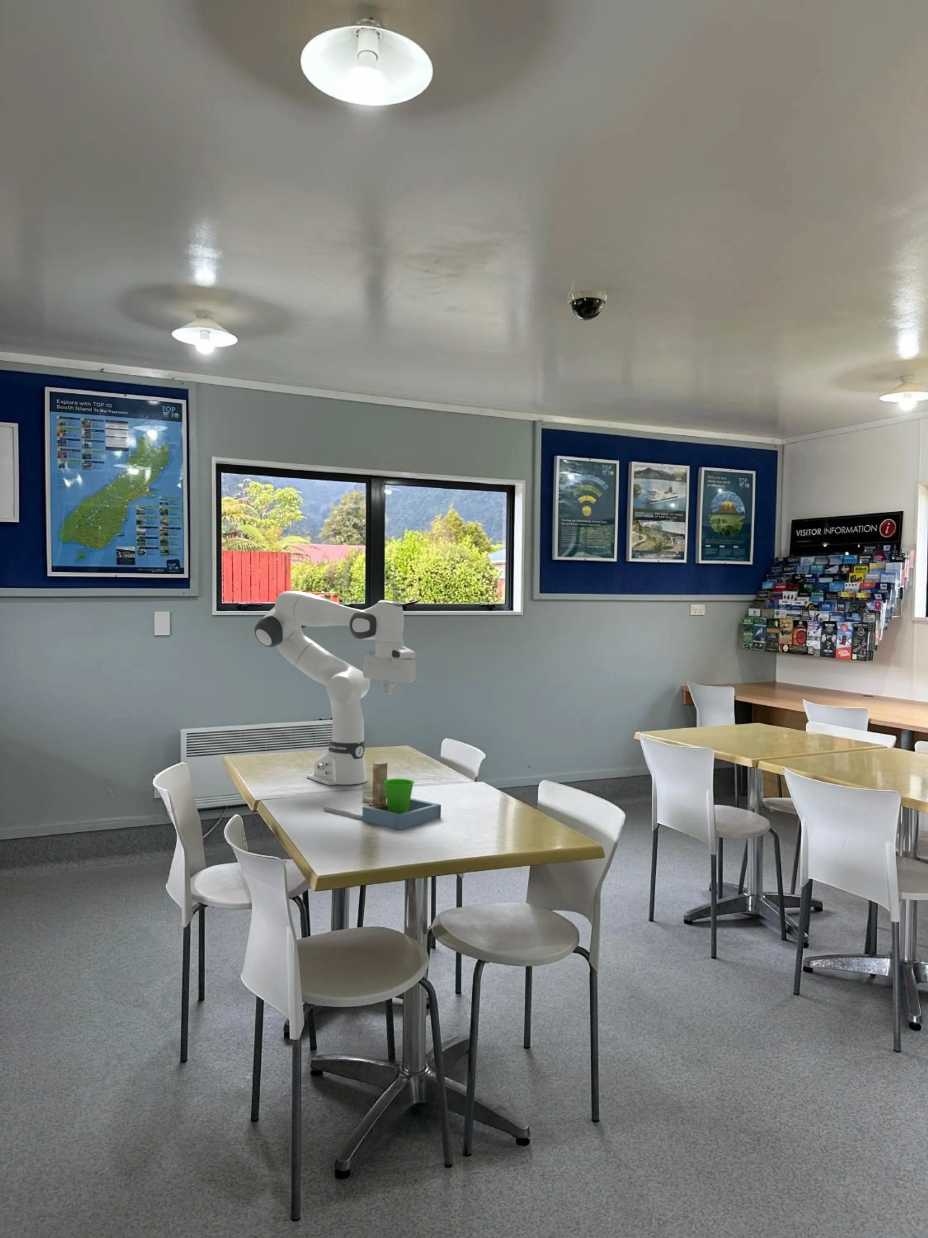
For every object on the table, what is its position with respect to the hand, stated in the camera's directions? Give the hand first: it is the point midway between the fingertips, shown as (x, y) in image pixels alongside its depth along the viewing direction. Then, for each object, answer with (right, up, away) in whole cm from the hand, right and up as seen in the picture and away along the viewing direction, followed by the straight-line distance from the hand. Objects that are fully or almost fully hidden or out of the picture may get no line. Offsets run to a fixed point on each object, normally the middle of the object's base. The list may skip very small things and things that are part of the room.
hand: (388, 694), depth 267 cm
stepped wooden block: (-1, -34, -16) cm, 38 cm away
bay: (+6, -35, -21) cm, 41 cm away
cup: (+5, -35, -21) cm, 41 cm away
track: (-7, -34, -11) cm, 37 cm away
